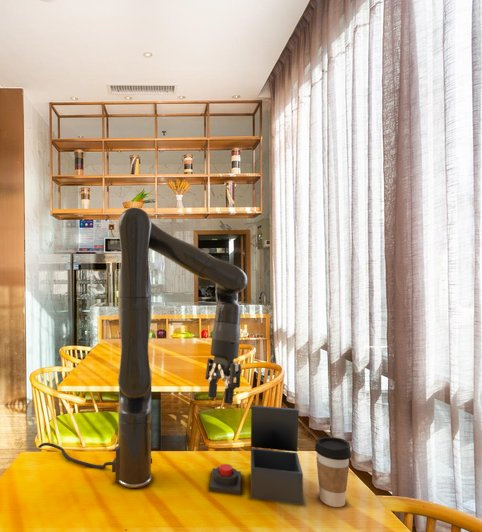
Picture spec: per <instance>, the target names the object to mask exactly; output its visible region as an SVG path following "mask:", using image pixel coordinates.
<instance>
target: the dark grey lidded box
mask: <svg viewBox="0 0 482 532" xmlns="http://www.w3.org/2000/svg"><path fill="white" fill-rule="evenodd" d="M303 488H304V473H303V469H302V466H301V462H300V458H299V454H298V452H295V451H285V450H275V449H265V448H255V447H251V448H250V498H251V499H256V500H264V501H271V502H279V503H285V504H287V503H288V504H295V505H300V506H301V505H303V504H304V503H303V502H304V501H303V499H304V498H303V496H304V495H303V494H304V493H303V492H304V491H303V490H304V489H303Z"/></svg>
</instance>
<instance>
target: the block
mask: <svg viewBox="0 0 482 532" xmlns="http://www.w3.org/2000/svg"><path fill="white" fill-rule="evenodd" d="M219 467H220V466H217V467H216V468H215V467H213V468H212V471H211V477H210V482H209V492H214V493H222V494H223V493H224V494H231V495H238V496H241V490H242V489H241V487H242V471H241V470H236V469H235V468H234V467H233V474H232V476H223V475H220V473H219Z"/></svg>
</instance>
